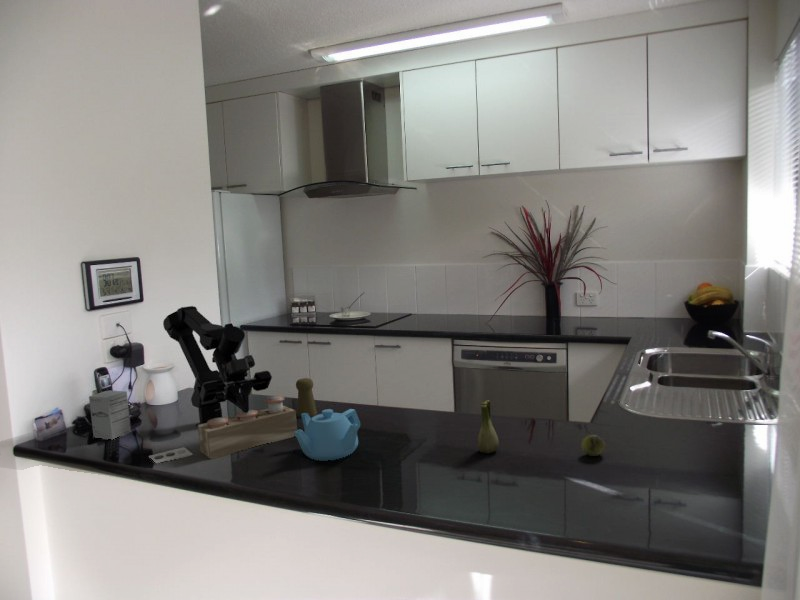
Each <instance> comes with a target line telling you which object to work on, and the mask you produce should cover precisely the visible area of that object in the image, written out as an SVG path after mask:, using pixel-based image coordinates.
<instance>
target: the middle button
mask: <svg viewBox="0 0 800 600" xmlns="http://www.w3.org/2000/svg"><path fill="white" fill-rule="evenodd" d="M257 411H258V410H255V409H249V411H248V412H247V413H245V412H244V411H242V410H241V411H239V412H238V413H237V414H236V416H237V417H239V418H240V420H241V421H247V420H251V419H255V418H256V415H257V414H258V413H257Z"/></svg>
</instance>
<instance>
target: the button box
mask: <svg viewBox="0 0 800 600" xmlns="http://www.w3.org/2000/svg"><path fill="white" fill-rule="evenodd" d="M256 411H257V413H258V414H257V415H256V418H255V419H251V420H247V421H241V420H240V418H239V417H237V415H235V416H230V417H227V418H228V423H226V426H222V427H217V428H213V429H212V428H211V427H210V426H209V425H208V424H207V423H204V424H200V425H198V426H197V432H198V440H199V451H200V453H202V454H204V455H205V456H206V457H208V458H209V459H211V460H212V459H216V458H220V457H223V456H228V455H231V454H235V453H238V451H239V452H242V451H241V450H243V451H246V450H249V449H248V448H250V449H253V448H252V447H254V448H256V447H255V446H258V447H260V446H259V445H261V446H263V445H262V444H265V445H267V444H266V443H269V444H272V443H275V442H280V441H283V440H287V439H290V438H291V439H292V438H294V436H295V437H296V435H295V433H294V432H295V431H297V430H298V421H297V411H296V410H295V409H293V408H290V407H288V406H287V405H284V404H283V412H280V413H276V414H272V415H271V414H269V413H268V408H265V409H261V410H256ZM271 442H272V443H271ZM245 449H246V450H245Z"/></svg>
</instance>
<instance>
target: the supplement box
mask: <svg viewBox="0 0 800 600" xmlns="http://www.w3.org/2000/svg"><path fill="white" fill-rule="evenodd" d="M88 399H89V409H90V418H91V426H92V434H93V438H94V437H95V438H102V439H101V440H108V439H111V440H110V441H113V439H114V440H116V439H115V438H117V437H119V436H121V435H124V434H126V433H129V432H132V429H131V428H132V426H131V419H130V418H131V417H130V411H129V410H130V409H129V400H128V392H127V390H126V391H124V390H123V391H122V390H105V391H101V392H99V393H96V394H92V395H89V396H88ZM129 434H130V433H129ZM124 436H125V435H124ZM119 438H120V437H119ZM117 439H118V438H117Z"/></svg>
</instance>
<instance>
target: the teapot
mask: <svg viewBox="0 0 800 600" xmlns="http://www.w3.org/2000/svg"><path fill="white" fill-rule="evenodd" d="M356 411H357V410H356V409H354V408H353V409H352V408H349V409H347V410H345V411H344V412H342V413H341V412H334V410H333V409H331V408H328V409H323V410H321V413H320V414H316V415H314V416H311V417H310V416H309V415H308V414H307V413H303V414H301V417H300V418H301V421H302V425H303V429H304V431H303V429H300V428H299V429H297V431H295V432H294V433H295V435H296V436H295V437H296V439H297V441H298V443H299V446H300V447H301V448H300V449H301V450H302V452H303V453H304V455H305V456H307V457H308V458H309V459H310V458H311V459H310V460H313V459H314V461H318V460H319V462H320V461H321V462H326V461H327V462H328V460H331V461H336V459H337V460H341V459H344V458H347V457H349V456H351V455H352V454H353V453H354V451H356V449H357V448H358V445H359V437H358V430H359V429H360V427H361V426H362V425H361V421H360V419H359V417H358V414H357V412H356ZM350 454H351V455H350ZM348 455H349V456H348ZM346 456H347V457H346ZM343 457H344V458H343ZM340 458H341V459H340Z"/></svg>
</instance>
